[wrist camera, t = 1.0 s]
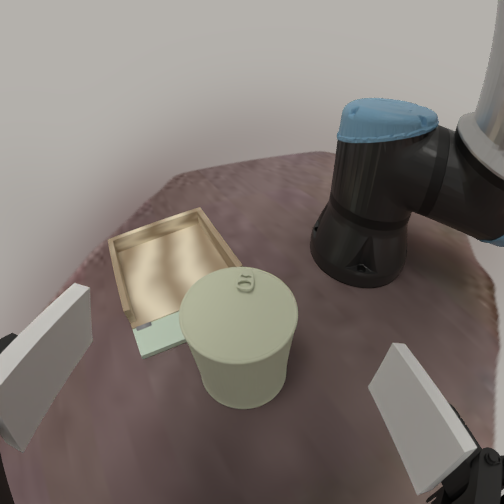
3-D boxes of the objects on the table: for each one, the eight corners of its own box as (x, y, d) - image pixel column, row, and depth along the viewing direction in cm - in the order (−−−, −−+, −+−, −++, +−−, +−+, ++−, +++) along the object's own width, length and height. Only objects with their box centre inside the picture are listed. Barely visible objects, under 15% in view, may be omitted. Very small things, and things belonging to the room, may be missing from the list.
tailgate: (244, 285, 38) (244, 280, 38) (261, 309, 36) (261, 304, 35) (133, 330, 33) (131, 326, 32) (143, 359, 30) (140, 355, 29)
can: (290, 339, 32) (302, 267, 24) (281, 414, 26) (295, 369, 17) (211, 329, 33) (196, 256, 25) (192, 400, 27) (160, 348, 19)
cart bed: (202, 224, 48) (199, 207, 46) (246, 287, 38) (245, 269, 36) (114, 256, 43) (107, 239, 40) (134, 332, 33) (125, 316, 30)
